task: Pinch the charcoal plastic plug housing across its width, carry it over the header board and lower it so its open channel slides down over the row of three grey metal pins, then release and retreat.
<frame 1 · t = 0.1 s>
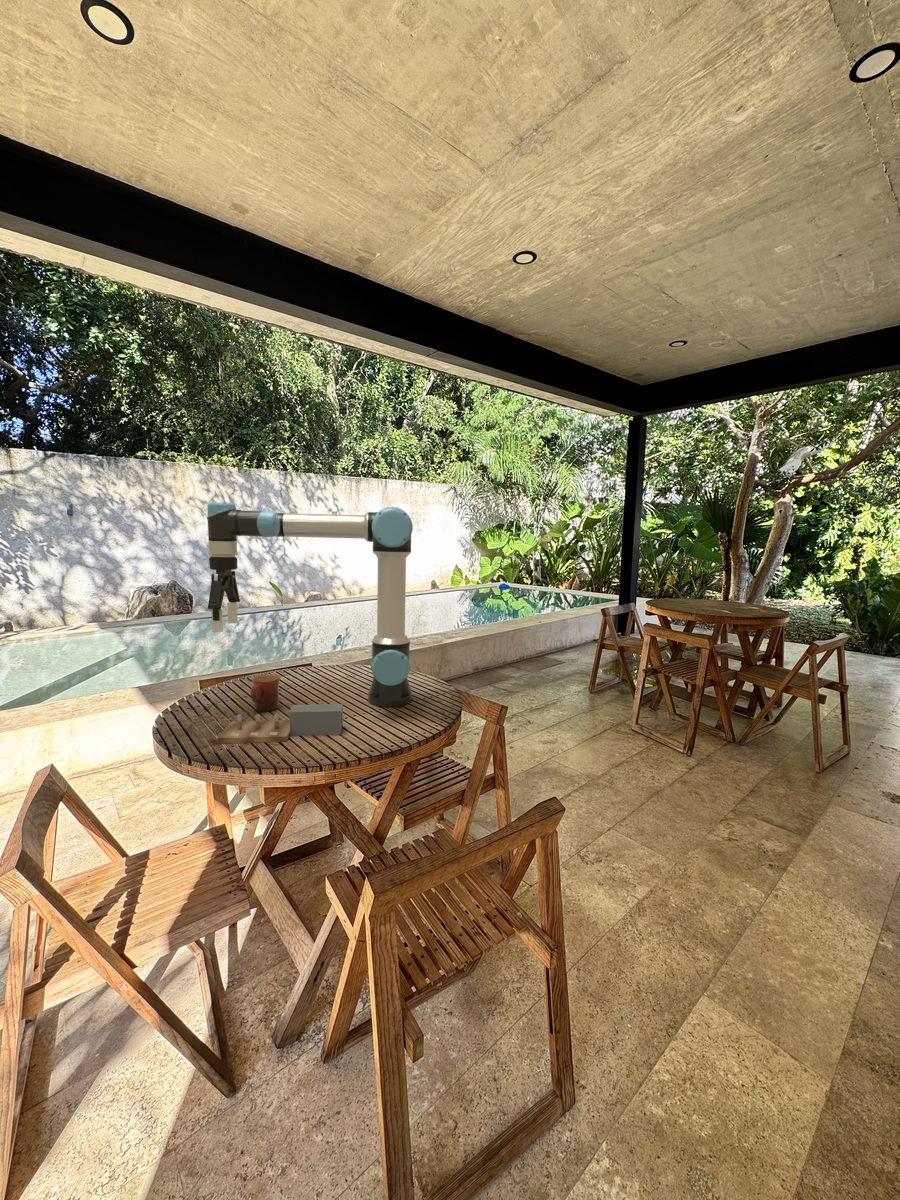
hand: (225, 627, 146), 28 cm above the table, fingers open, 13 cm apart
mug: (264, 711, 156), on the table
plug housing: (317, 731, 141), on the table
header board: (258, 733, 138), on the table
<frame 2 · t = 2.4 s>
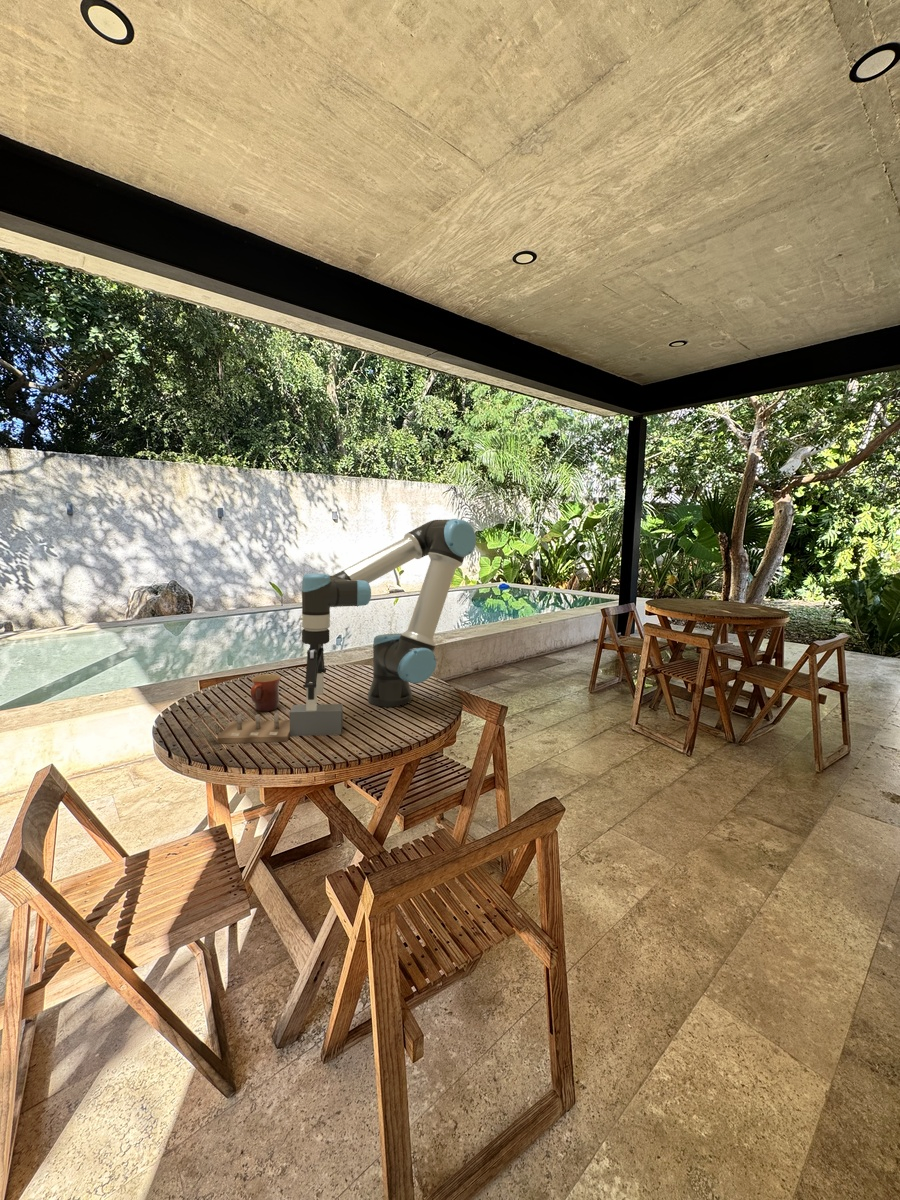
hand: (315, 702, 140), 9 cm above the table, fingers open, 13 cm apart
nothing on the table moved.
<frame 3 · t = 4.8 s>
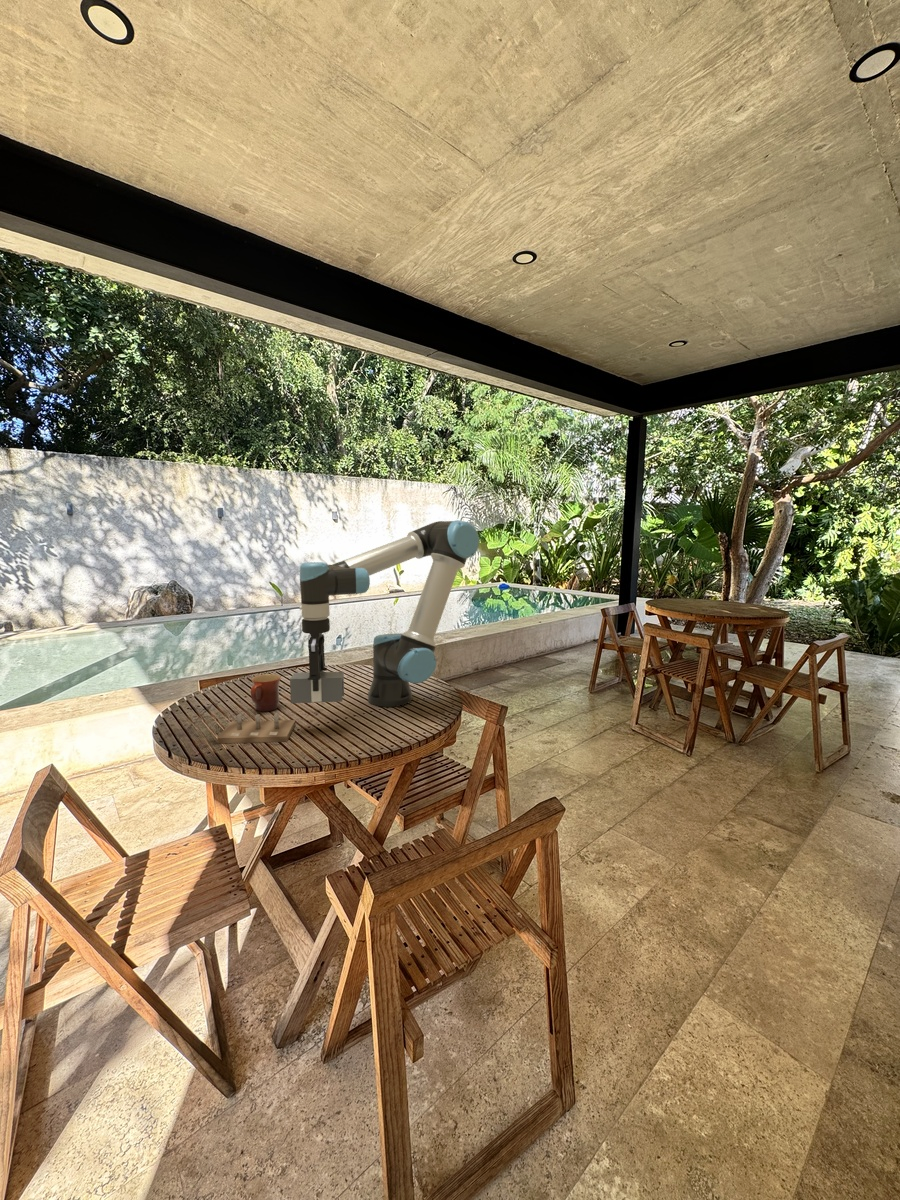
hand: (318, 697, 140), 10 cm above the table, fingers closed on plug housing, 6 cm apart
plug housing: (318, 698, 140), point 9 cm above the table, touching gripper
everything else where it was.
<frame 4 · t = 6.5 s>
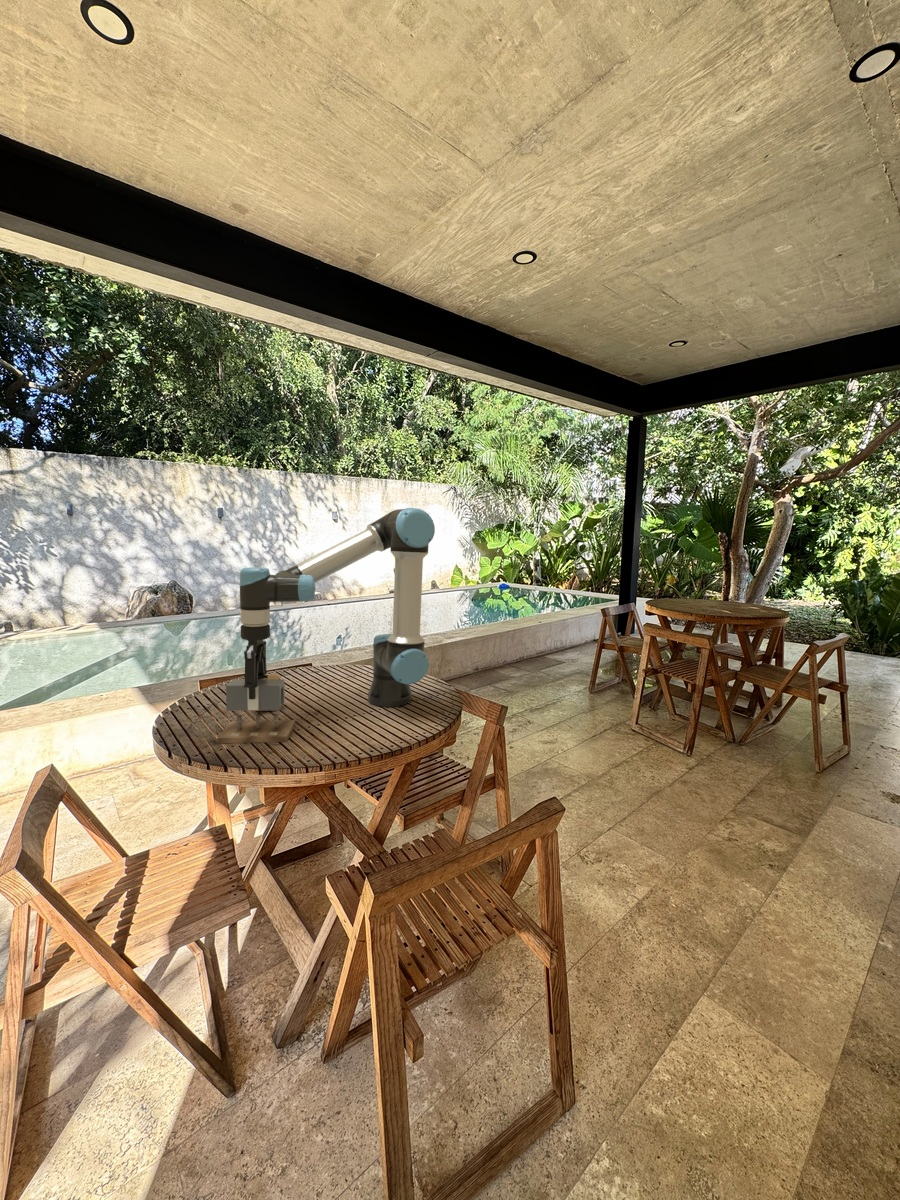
hand: (256, 705, 137), 8 cm above the table, fingers closed on plug housing, 6 cm apart
plug housing: (256, 706, 137), point 8 cm above the table, touching gripper
everything else where it was.
when the fingers open (2 cm above the table, at t = 8.4 s): plug housing stays where it is, resting on header board.
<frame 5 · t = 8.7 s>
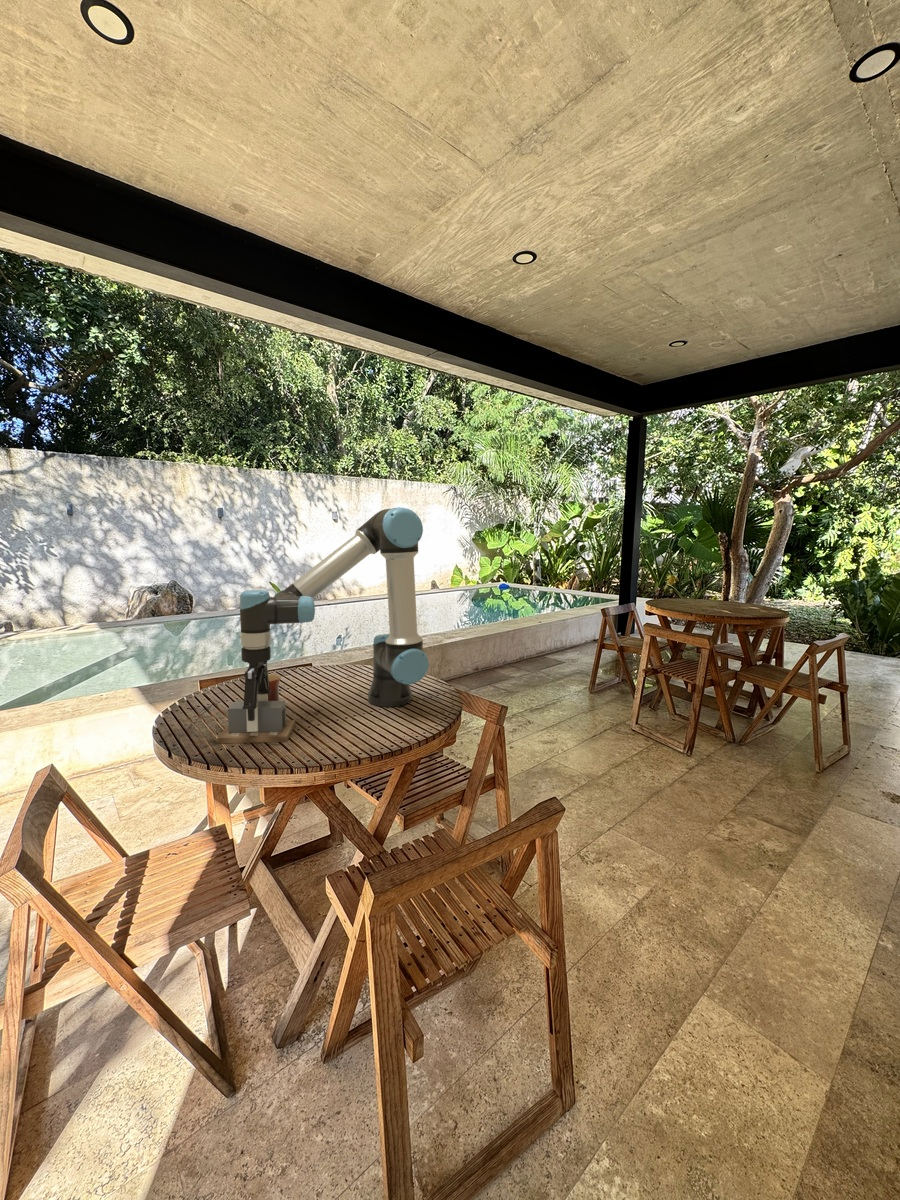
hand: (258, 723, 138), 3 cm above the table, fingers open, 10 cm apart
plug housing: (258, 728, 138), point 1 cm above the table, touching header board
everything else where it was.
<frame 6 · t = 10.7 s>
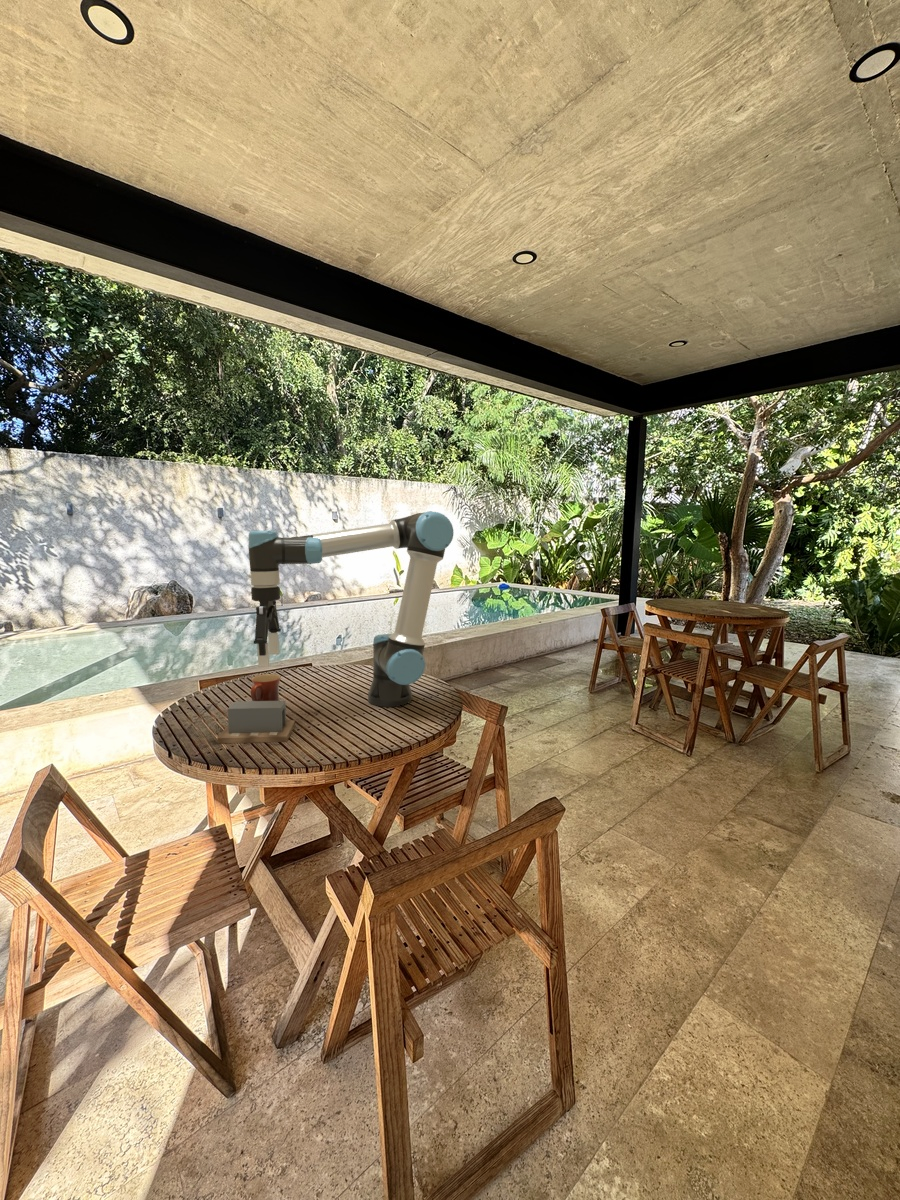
hand: (269, 660, 140), 20 cm above the table, fingers open, 13 cm apart
nothing on the table moved.
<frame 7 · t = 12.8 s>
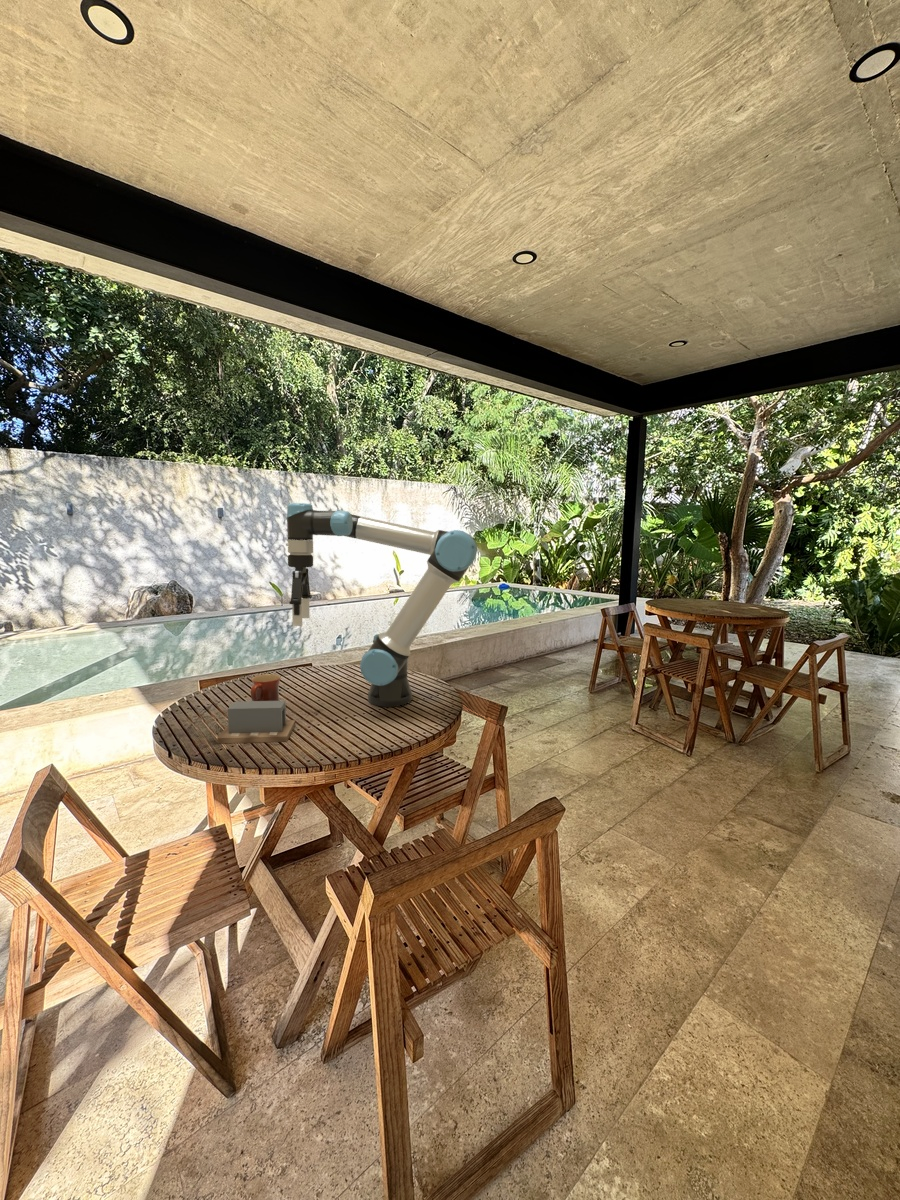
hand: (301, 621, 154), 29 cm above the table, fingers open, 13 cm apart
nothing on the table moved.
at the end: plug housing 0.1 cm off-centre on the header board, point 1.5 cm above the header board's base; plug housing tilted 0°; the gripper is holding nothing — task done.
